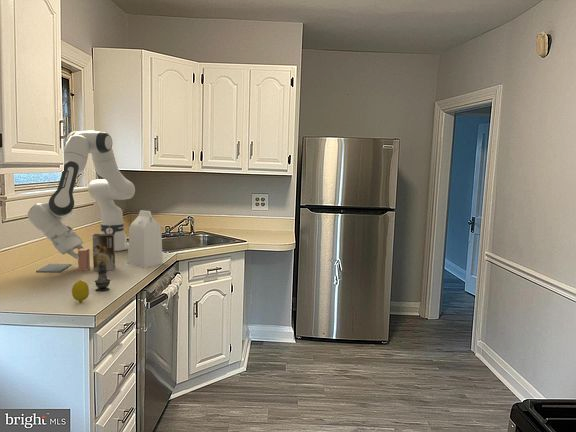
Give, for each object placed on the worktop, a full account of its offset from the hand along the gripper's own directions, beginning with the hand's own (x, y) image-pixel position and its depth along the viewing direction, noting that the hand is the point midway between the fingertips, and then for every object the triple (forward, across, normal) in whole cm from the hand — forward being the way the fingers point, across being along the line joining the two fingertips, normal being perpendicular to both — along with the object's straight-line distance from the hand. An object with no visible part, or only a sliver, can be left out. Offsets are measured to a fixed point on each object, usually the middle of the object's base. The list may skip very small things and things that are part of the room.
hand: (81, 255), depth 210 cm
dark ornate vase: (+18, -35, -9) cm, 40 cm away
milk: (+23, +12, -14) cm, 29 cm away
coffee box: (+12, 0, -2) cm, 12 cm away
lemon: (+16, -51, -7) cm, 54 cm away
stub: (+5, 0, +4) cm, 6 cm away
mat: (-4, 0, +13) cm, 14 cm away
